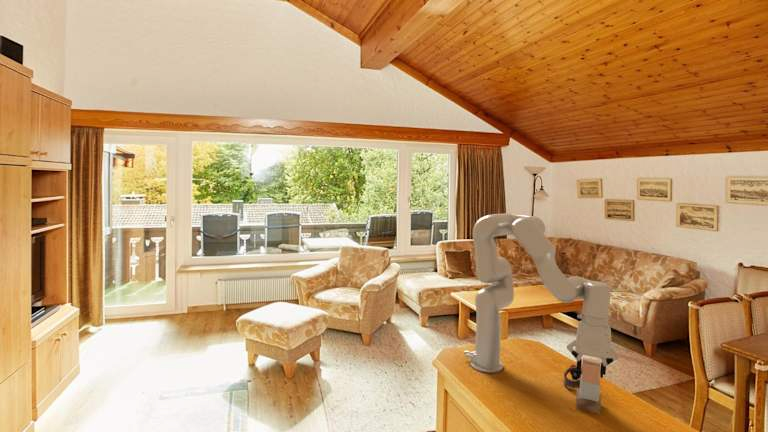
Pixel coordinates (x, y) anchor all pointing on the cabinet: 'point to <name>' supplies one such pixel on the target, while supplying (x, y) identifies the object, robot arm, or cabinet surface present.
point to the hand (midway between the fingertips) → (590, 373)
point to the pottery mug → (575, 376)
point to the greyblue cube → (589, 390)
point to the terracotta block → (590, 371)
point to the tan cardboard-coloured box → (588, 404)
